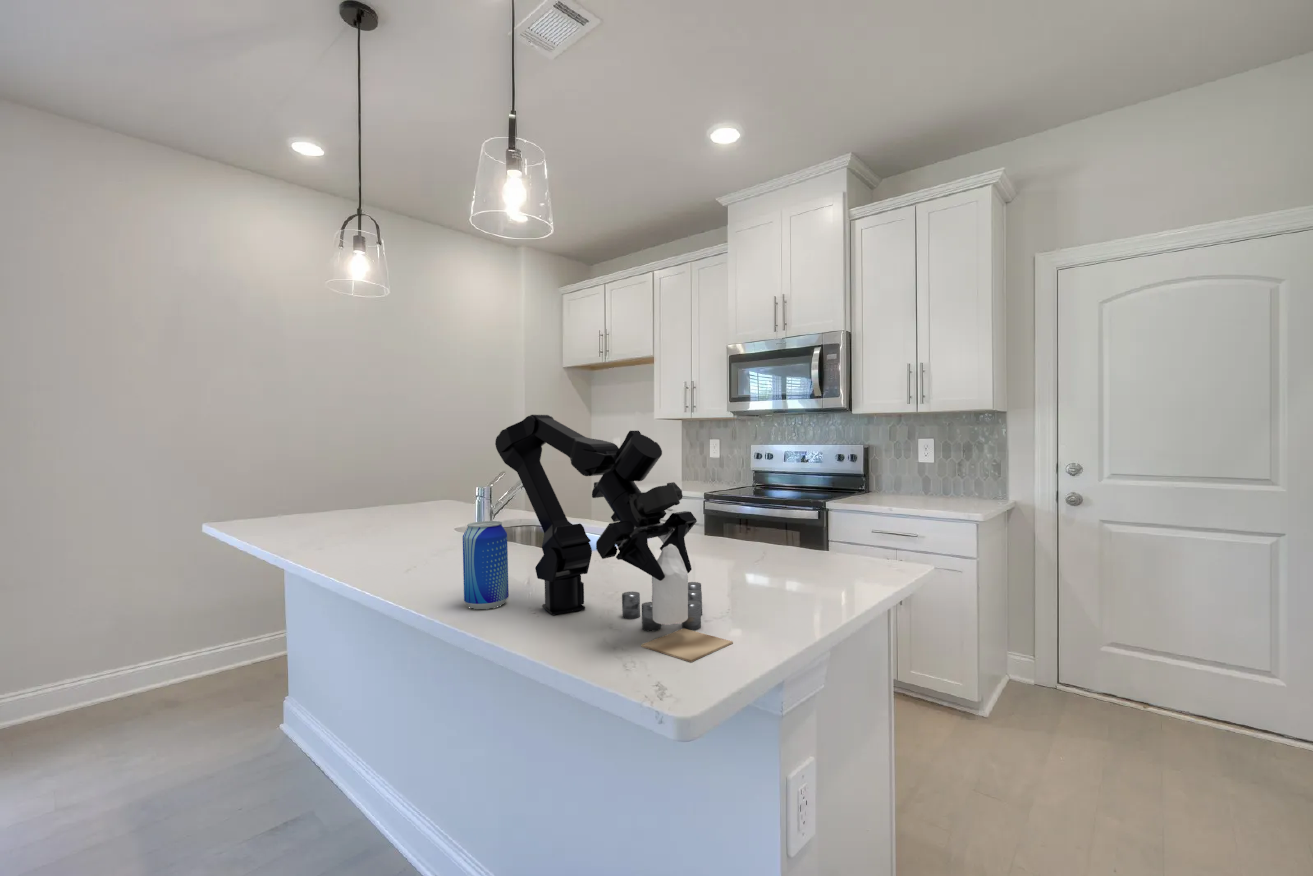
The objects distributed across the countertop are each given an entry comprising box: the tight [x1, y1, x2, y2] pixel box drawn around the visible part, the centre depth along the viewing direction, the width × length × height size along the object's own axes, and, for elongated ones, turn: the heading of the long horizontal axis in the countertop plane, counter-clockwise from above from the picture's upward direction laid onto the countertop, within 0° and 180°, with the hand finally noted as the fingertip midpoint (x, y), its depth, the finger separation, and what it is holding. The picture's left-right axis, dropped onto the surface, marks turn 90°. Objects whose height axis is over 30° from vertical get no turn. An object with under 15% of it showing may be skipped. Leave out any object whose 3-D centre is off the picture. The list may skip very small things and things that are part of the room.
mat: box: [640, 628, 734, 663], centre depth 91 cm, size 10×10×1 cm
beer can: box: [462, 520, 509, 610], centre depth 116 cm, size 8×8×16 cm
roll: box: [651, 544, 689, 625], centre depth 93 cm, size 6×12×6 cm
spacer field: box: [621, 581, 703, 632], centre depth 105 cm, size 16×14×4 cm
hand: (676, 575), depth 93 cm, fingers closed on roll, 6 cm apart
